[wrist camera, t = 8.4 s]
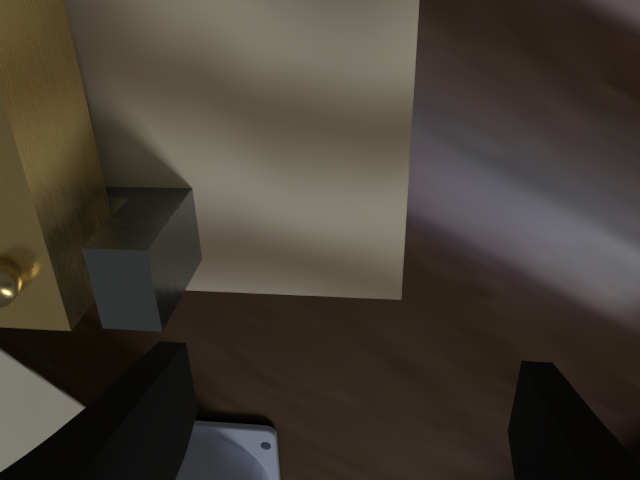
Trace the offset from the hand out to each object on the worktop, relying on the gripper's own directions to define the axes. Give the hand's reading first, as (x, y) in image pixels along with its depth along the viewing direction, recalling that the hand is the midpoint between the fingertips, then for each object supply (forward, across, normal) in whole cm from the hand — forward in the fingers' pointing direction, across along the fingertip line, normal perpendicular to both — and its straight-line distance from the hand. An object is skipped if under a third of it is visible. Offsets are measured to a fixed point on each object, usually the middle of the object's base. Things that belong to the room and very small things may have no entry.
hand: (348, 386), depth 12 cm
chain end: (+9, +10, +1) cm, 14 cm away
